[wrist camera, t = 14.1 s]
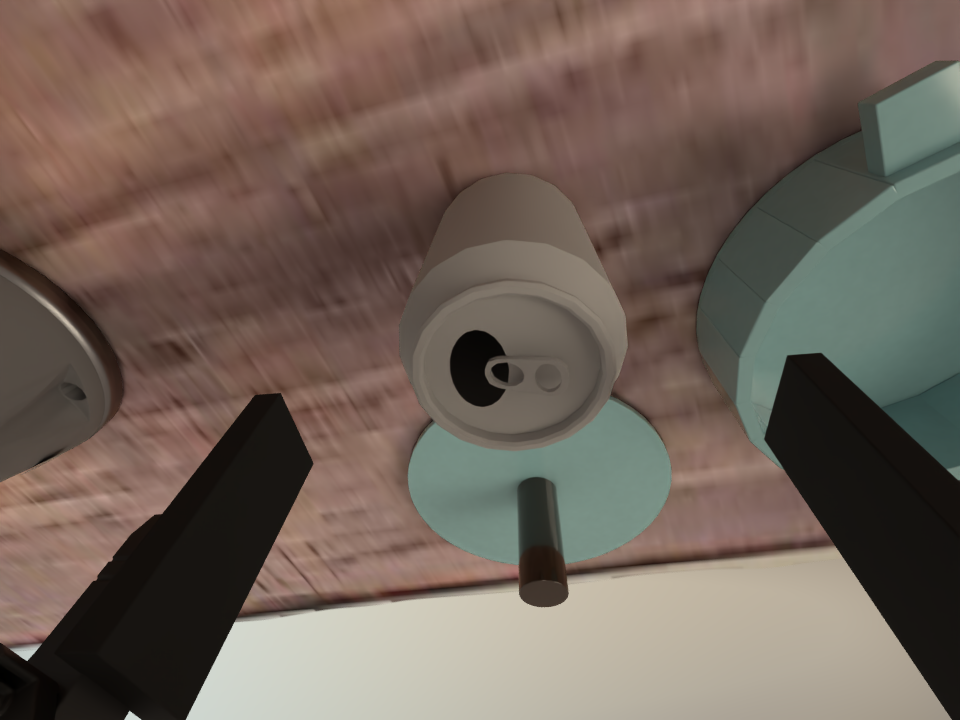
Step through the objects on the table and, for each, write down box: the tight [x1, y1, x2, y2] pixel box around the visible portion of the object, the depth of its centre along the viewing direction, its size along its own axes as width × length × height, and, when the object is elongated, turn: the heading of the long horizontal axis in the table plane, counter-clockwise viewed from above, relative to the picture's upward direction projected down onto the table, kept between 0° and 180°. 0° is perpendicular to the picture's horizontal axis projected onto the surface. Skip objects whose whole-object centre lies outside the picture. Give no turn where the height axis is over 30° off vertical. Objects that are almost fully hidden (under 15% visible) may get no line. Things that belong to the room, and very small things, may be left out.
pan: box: [696, 61, 960, 480], centre depth 22 cm, size 17×23×6 cm
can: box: [399, 173, 628, 451], centre depth 18 cm, size 8×8×12 cm
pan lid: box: [408, 396, 671, 607], centre depth 29 cm, size 18×18×9 cm
